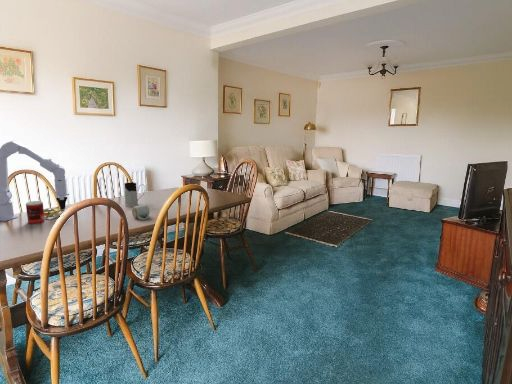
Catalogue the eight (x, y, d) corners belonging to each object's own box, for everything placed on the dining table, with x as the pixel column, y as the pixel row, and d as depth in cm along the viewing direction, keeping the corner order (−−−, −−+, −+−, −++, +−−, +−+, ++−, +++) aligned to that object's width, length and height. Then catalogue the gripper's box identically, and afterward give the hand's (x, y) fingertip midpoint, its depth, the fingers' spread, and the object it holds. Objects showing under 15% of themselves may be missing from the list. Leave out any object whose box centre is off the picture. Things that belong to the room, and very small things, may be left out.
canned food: (40, 219, 182) (38, 200, 179) (47, 221, 178) (45, 202, 175) (25, 222, 175) (22, 202, 173) (32, 225, 171) (30, 205, 169)
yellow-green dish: (43, 216, 181) (42, 208, 180) (36, 213, 187) (35, 205, 186) (67, 212, 192) (67, 204, 191) (60, 209, 197) (60, 201, 196)
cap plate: (29, 217, 183) (28, 211, 182) (48, 211, 196) (48, 205, 196) (50, 220, 181) (49, 213, 180) (69, 213, 194) (68, 207, 193)
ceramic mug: (131, 217, 192) (130, 204, 190) (144, 214, 198) (144, 202, 196) (138, 221, 185) (138, 208, 183) (152, 219, 190) (151, 206, 188)
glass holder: (122, 204, 220) (121, 182, 217) (143, 201, 228) (143, 181, 225) (126, 207, 213) (125, 185, 210) (147, 204, 221) (147, 183, 218)
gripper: (69, 188, 185) (71, 211, 188) (68, 184, 197) (70, 205, 200) (54, 189, 182) (56, 212, 184) (54, 185, 194) (56, 206, 196)
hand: (62, 209), depth 192 cm, fingers closed, pressing on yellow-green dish
